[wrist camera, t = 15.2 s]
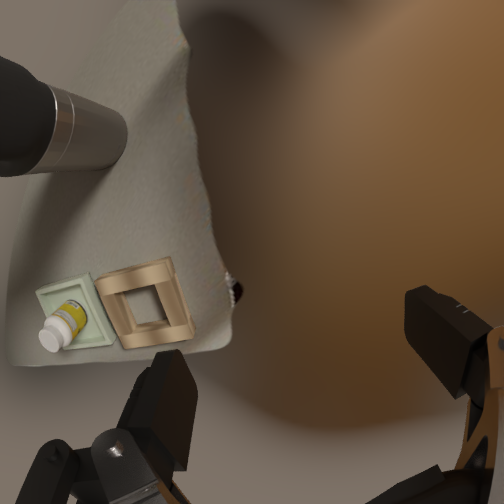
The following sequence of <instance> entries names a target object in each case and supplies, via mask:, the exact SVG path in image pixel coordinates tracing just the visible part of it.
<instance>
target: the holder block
mask: <svg viewBox="0 0 504 504" xmlns="http://www.w3.org/2000/svg"><path fill="white" fill-rule="evenodd" d="M94 282H95V285H96V287H97V290H98V292H99V295H100V297H101V299H102V302H103V304H104V306H105V309H106V311H107V313H108V315H109V318H110V320H111V322H112V324H113V326H114V328H115V330H116V332H117V334H118V337H119V339H120V341H121V343H122V344H123V346H124V348H125V349H130V348H137V347H144V346H151V345H157V344H163V343H170V342H176V341H181V340H187V339H193V337H194V333H195V329H196V327H195V324H194V322H193V319H192V317H191V314H190V311H189V309H188V306H187V303H186V300H185V298H184V295H183V292H182V289H181V286H180V284H179V281H178V278H177V275H176V272H175V269H174V266H173V263H172V260H171V257H170V256H169V257H165V258H162V259H158V260H154V261H150V262H146V263H143V264H139V265H135V266H131V267H128V268H124V269H120V270H117V271H113V272H109V273H106V274H102V275H101V276H100V277H99V278H97V279H96V280H95V281H94ZM152 284H155V287H156V289H157V292H158V295H159V297H160V300H161V302H162V305H163V307H164V310H165V312H166V315H167V317H168V319H165V320H160V321H155V322H149V323H144V324H138V325H137V323H136V321H135V319H134V316H133V314H132V312H131V309H130V307H129V305H128V302H127V300H126V298H125V295H124V293H123V291H126V290H131V289H135V288H139V287H144V286H148V285H152Z"/></svg>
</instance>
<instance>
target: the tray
mask: <svg viewBox="0 0 504 504" xmlns="http://www.w3.org/2000/svg"><path fill="white" fill-rule="evenodd" d="M35 292H36V295H37V297H38V299H39V302H40V304H41V306H42V308H43V311H44V313H45V315H46V317H47V318H48V317H49V316H50V315H51V314H52V313H53V312H54V311H55V310H56V309H57V308H58V307H60V306H61V305H62V304H63V303H64V302H65V301H66V300H68V299H76V300H78V301H80V302H81V303H82V304H83V305H84V307H85V308H86V310H87V312H88V322H87V324H86V325H85V326H84V328H83V329H82V330H81V331H80V332H79V333H78V335H77V336H76V337H75V338H74V339H73V341H72V342H71V343H70V344H69V345H68V346H66V347H62V348H63V350H69V349H78V348H87V347H95V346H103V345H111V344H113V342H114V341H115V339H116V338H117V335H116V333H115V331H114V329H113V327H112V325H111V323H110V320H109V318H108V316H107V314H106V312H105V309H104V307H103V305H102V303H101V300H100V298H99V296H98V293H97V291H96V288H95V286H94V283H93V281H92V278H91V276H90V273H89V272H88V273H84V274H81V275H77V276H74V277H70V278H67V279H64V280H60V281H57V282H54V283H50V284H47V285H44V286H42V287H40V288H39V289H37V290H36V291H35Z"/></svg>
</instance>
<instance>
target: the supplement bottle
mask: <svg viewBox="0 0 504 504" xmlns="http://www.w3.org/2000/svg"><path fill="white" fill-rule="evenodd" d="M87 322H88V312H87V310H86V308H85V307H84V305H83V304H82V303H81V302H80V301H78V300H76V299H68V300H66V301H65V302H64V303H63V304H62V305H61V306H60V307H58V308H57V309H56V310H55V311H54V312H53V313H52V314H51V315H50V316H49V317H48V318H47V319H46V320H45V322H44V328H43V329H42V330H41V331H40V332H39V339H40V342H41V343H42V345H43V346H44V347H45V348H46V349H47V350H48V351H50V352H57V351H58V350H59V349H60V348H61V347H66V346H68V345H69V344H70V343H71V342H72V341H73V339H74V338H75V337H76V336H77V335H78V333H79V332H80V331H81V330H82V329H83V328H84V326H85V325H86V324H87Z"/></svg>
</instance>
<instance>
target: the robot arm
mask: <svg viewBox="0 0 504 504" xmlns="http://www.w3.org/2000/svg"><path fill="white" fill-rule="evenodd" d="M126 142H127V126H126V123H125V121H124V119H123V117H122V116H121V115H120V114H119V113H118V112H116V111H114V110H112V109H110V108H107V107H105V106H103V105H101V104H98V103H96V102H93V101H91V100H88V99H86V98H83V97H81V96H78V95H75V94H73V93H70V92H68V91H65V90H62V89H59V88H56V87H53V86H51V85H48V84H45V83H43V82H40V81H38V80H37V79H36V78H35V77H34V76H33V75H32V74H31V73H30V72H29V71H28V70H27V69H25V68H24V67H22V66H21V65H19V64H17V63H15V62H12V61H10V60H8V59H5V58H3V57H1V56H0V177H12V176H19V175H29V174H39V173H51V172H65V171H86V170H101V169H105V168H107V167H109V166H111V165H112V164H114V163H115V162H116V161H117V160H118V159H119V157H120V156H121V154H122V153H123V150H124V148H125V145H126ZM404 331H405V336H406V339H407V341H408V343H409V344H410V345H411V347H412V348H413V349H414V350H415V351H416V352H417V354H418V355H419V356H420V357H421V358H422V360H423V361H424V362H425V363H426V364H427V366H428V367H429V368H430V369H431V370H432V372H433V373H434V374H435V375H436V376H437V378H438V379H439V380H440V381H441V383H442V384H443V385H444V386H445V388H446V389H447V390H448V391H449V392H450V394H451V395H452V396H453V398H454V399H457V398H459V397H461V396H462V395H464V394H466V393H467V394H468V395H469V396H470V397H469V400H468V403H467V413H466V422H465V430H464V437H463V444H462V449H461V452H460V455H459V458H458V460H457V463H456V466H455V468H454V470H450V471H444V472H441V470H440V468H439V466H438V465H435V466H433V467H431V468H429V469H427V470H425V471H423V472H421V473H419V474H417V475H415V476H413V477H411V478H408V479H406V480H404V481H402V482H399V483H397V484H396V485H394V486H393V487H391V488H390V489H388V490H387V491H385V492H384V493H382V494H380V495H379V496H377V497H376V498H374V499H372V500H371V501H369V502H367V503H365V504H504V326H500V327H496V328H492V327H491V326H490V325H488V324H487V323H486V322H485V321H483V320H482V319H481V318H479V317H478V316H477V315H475V314H474V313H473V312H471V311H468V309H467V308H466V307H465V306H463V305H462V306H461V304H460V303H459V302H458V301H456V300H455V299H454V298H452V297H449V296H446V295H443V294H440V293H439V294H438V293H437V292H435V291H434V290H432V289H431V288H429V287H428V286H427V285H423V286H420V287H417V288H415V289H412V290H409V291H407V292H406V294H405V319H404ZM197 400H198V390H197V386H196V383H195V380H194V378H193V376H192V374H191V372H190V370H189V368H188V366H187V364H186V362H185V359H184V357H183V355H182V353H181V352H180V350H178V349H175V350H168V351H162V352H157V353H156V355H155V358H154V360H153V362H152V365H151V367H147V368H146V369H145V370H144V371H143V372H142V373H141V374H140V375H139V376H138V378H137V380H136V382H135V384H134V387H133V390H132V392H131V393H130V398H129V399H128V400H127V403H126V405H125V407H124V410H123V412H122V415H121V417H120V419H119V422H118V424H117V427H116V428H114V429H110V430H107V431H105V432H103V433H101V434H100V435H99V436H98V437H97V438H96V439H95V440H94V442H93V444H92V446H91V447H89V448H83V449H77V450H72V448H71V447H70V446H69V445H68V444H67V443H66V442H65V441H63V440H60V439H54V440H51V441H49V442H47V443H45V444H44V445H43V446H42V447H41V448H40V449H39V451H38V453H37V455H36V457H35V459H34V461H33V464H32V466H31V468H30V470H29V472H28V474H27V477H26V479H25V481H24V484H23V486H22V488H21V491H20V493H19V496H18V498H17V500H16V503H15V504H67V500H68V497H69V494H71V495H72V496H74V497H75V498H76V499H77V502H76V504H191V503H190V502H189V500H188V499H187V498H186V497H185V495H184V494H183V493H182V492H181V490H180V489H179V487H178V486H177V485H176V483H175V482H174V481H173V480H172V477H173V472H174V471H186V470H187V463H188V457H189V450H190V443H191V437H192V431H193V424H194V418H195V412H196V406H197Z"/></svg>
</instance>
